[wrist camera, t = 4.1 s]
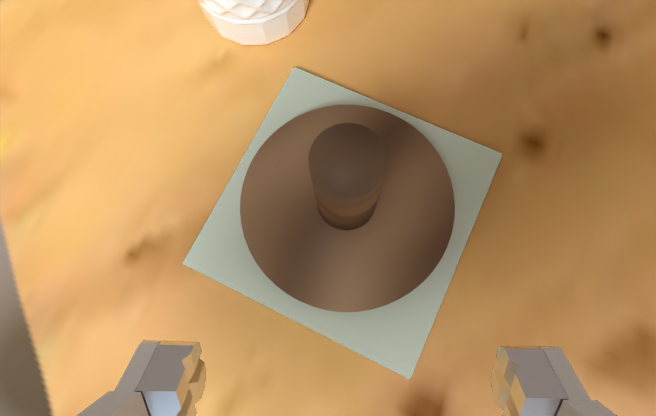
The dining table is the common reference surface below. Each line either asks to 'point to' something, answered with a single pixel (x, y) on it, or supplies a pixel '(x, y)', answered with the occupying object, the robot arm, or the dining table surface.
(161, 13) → the dining table surface
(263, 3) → the white cup
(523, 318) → the dining table surface
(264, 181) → the lid
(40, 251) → the dining table surface
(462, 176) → the mat
